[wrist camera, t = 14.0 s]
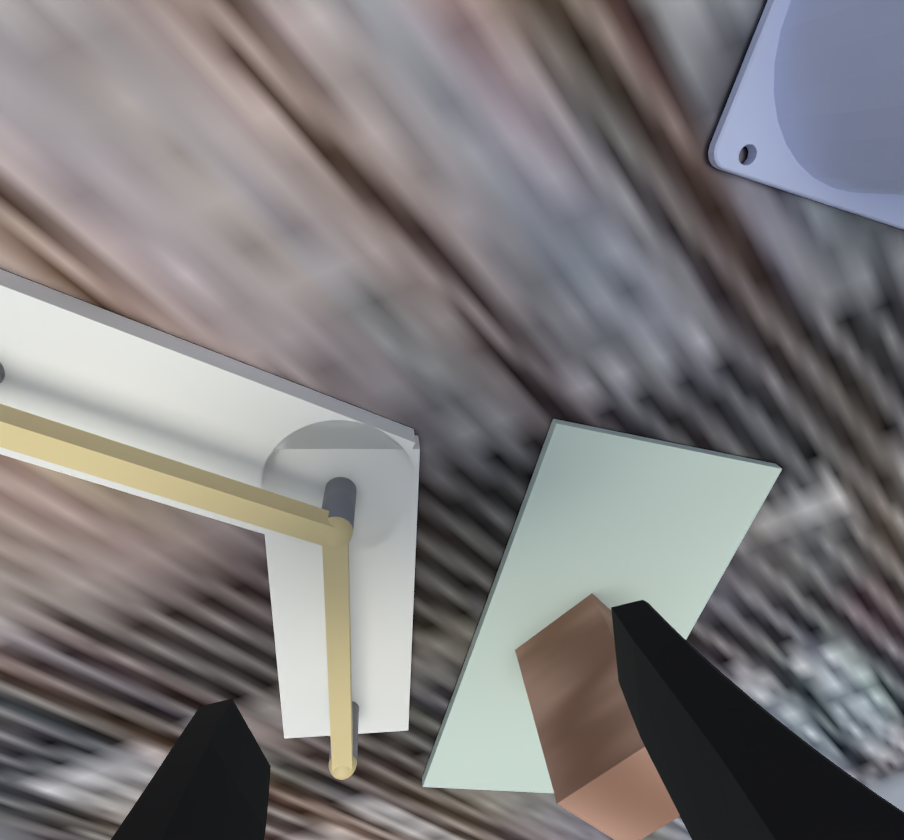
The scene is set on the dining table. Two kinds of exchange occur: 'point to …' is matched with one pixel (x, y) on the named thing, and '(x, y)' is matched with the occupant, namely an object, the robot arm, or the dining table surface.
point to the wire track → (248, 452)
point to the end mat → (590, 576)
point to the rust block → (591, 726)
